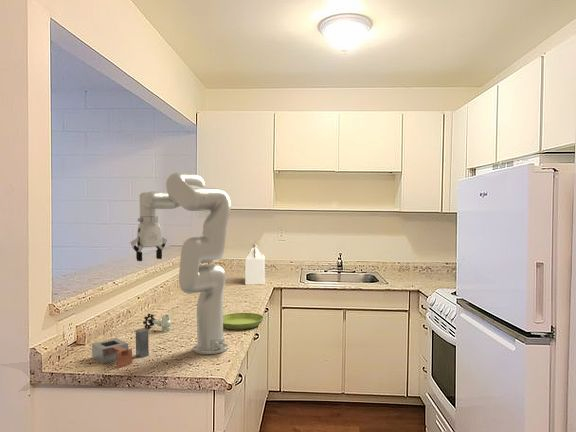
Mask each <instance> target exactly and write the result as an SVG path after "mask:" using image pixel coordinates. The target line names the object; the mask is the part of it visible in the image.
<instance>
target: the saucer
mask: <svg viewBox="0 0 576 432" xmlns="http://www.w3.org/2000/svg"><path fill="white" fill-rule="evenodd" d="M264 318H265V317H264V316H263V315H262V314H259V313H255V312H254V313H253V312H235V313H228V314H223V328H225V329H228V330H249V329H252V328H256V327H258V326H259V325H260V324H261V323H262V322H263V321H264Z"/></svg>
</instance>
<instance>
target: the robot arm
mask: <svg viewBox="0 0 576 432" xmlns="http://www.w3.org/2000/svg"><path fill="white" fill-rule="evenodd" d="M205 186H206V182H205V180H204V179H203V177H202V176H201V175H199V174H196V173H189V172H188V173H186V172H174V173H171V174H169V176H168V177H167V178H166V181H165V187H166V191H165V190H163V191H160V190H159V191H157V190H156V191H154V190H153V191H147V192H145V191H144V192H140V194H139V218H137V220H136V221H137V222H139V223H138V227H137V233H136V238H135V239H133V240H131V241H130V243H129V244H130V245H131V247H132V249H133V250H134V252H136V253H135V254H136V261H137V262H143V252H142V250H143V249H144V248H152V247H153V248H154V247H155V248H156V251H155V253H156V256H155V258H156V260H162V259H163V257H162V256H163V250H164V248H165V246H166V243H167V242H168V240H167V239H166V238H165V237H163V236H162V228H161V224H160V223H159V216H158V215H159V210H173V209H176V208H179V207H182V208H183V209H184V210H186V211H190V212H206V211H207V212H209V211H210V213H209V214H208V215H207V216H206V218H205V220H204V222H203V225H202V234H201V236H194V237H193V236H192V237H189V238H187V239H186V240H185V241H184V242H183V244H182V247H181V249H180V260H179V271H178V273H179V274H178V284H179V288H180V289H181V291H182V292H183V293H185V294H188V295H189V294H190V295H192V294H198V293H199V295H198V298H197V301H196V320H197V321H196V323H197V324H196V326H197V327H196V328H197V329H196V334H197V343H196V344H194V345H193V347H192V350H193V352H194V353H196V354H200V355H216V354H220V353H223V352H225V351H227V350H228V346H229V344H228V343H226V342H225V337H224V327H223V316H224V290H225V284H226V272H225V270H224V268H223V267H222V266H221V265H219V264H213V262H218V261H221V260H222V258H223V257H224V254H225V247H226V246H225V245H226V237H227V227H228V223H229V218H230V215H231V209H232V203H231V198H230V196H229V195H228V193H227V191H225V190H223V189H220V188H216V187H205ZM207 263H209V264H207ZM201 264H202V265H201Z"/></svg>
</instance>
